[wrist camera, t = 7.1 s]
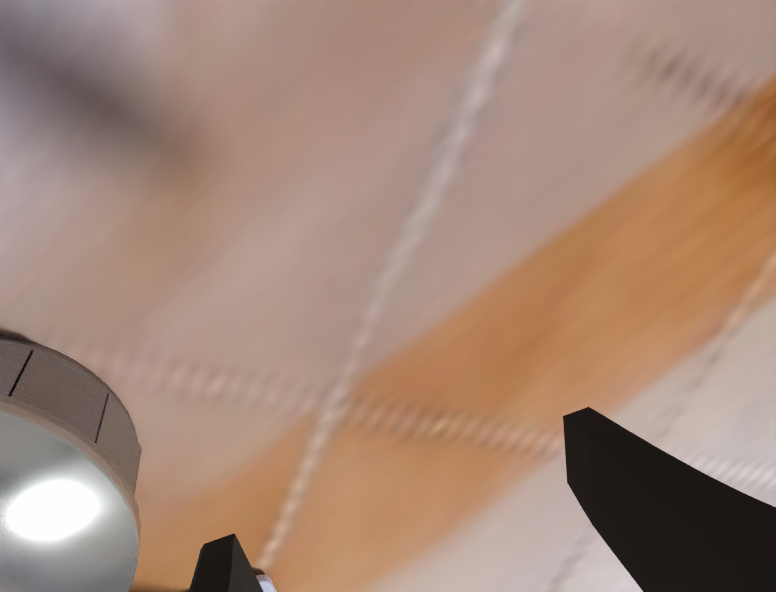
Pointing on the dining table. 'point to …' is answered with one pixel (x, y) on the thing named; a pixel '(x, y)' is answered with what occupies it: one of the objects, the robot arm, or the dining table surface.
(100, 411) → the pot
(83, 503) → the lid
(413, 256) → the dining table surface
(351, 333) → the dining table surface
